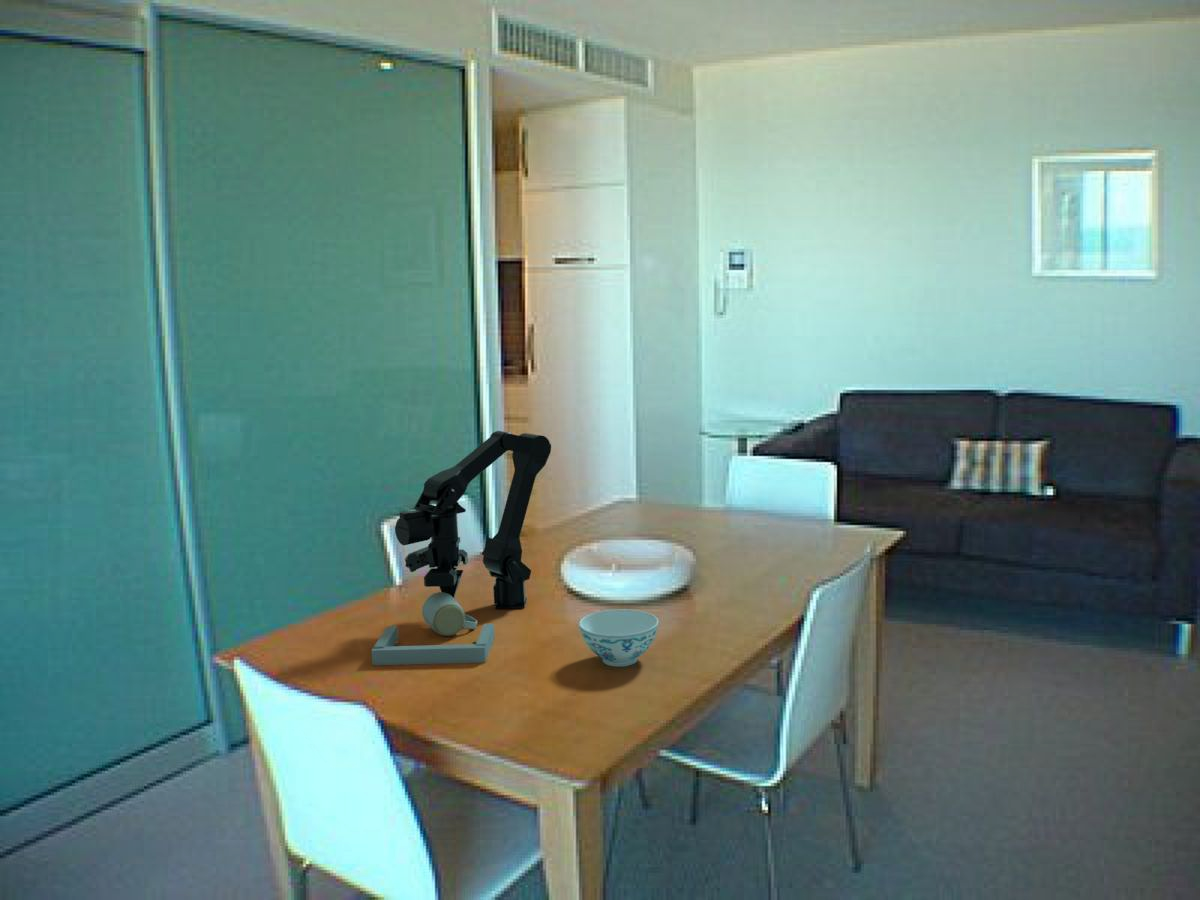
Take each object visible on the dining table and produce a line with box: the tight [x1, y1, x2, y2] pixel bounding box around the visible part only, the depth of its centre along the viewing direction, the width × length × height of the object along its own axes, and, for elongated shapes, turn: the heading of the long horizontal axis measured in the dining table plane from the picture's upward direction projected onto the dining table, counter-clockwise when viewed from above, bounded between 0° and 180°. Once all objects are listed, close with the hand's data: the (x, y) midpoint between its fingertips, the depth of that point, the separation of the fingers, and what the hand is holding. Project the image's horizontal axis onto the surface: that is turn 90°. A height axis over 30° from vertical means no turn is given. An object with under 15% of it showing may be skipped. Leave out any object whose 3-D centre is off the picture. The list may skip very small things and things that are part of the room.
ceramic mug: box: [421, 591, 478, 637], centre depth 227 cm, size 11×8×8 cm
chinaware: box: [578, 608, 659, 667], centre depth 207 cm, size 15×15×8 cm
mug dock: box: [371, 623, 496, 666], centre depth 216 cm, size 22×14×3 cm, turn 88°
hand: (449, 606), depth 233 cm, fingers closed
